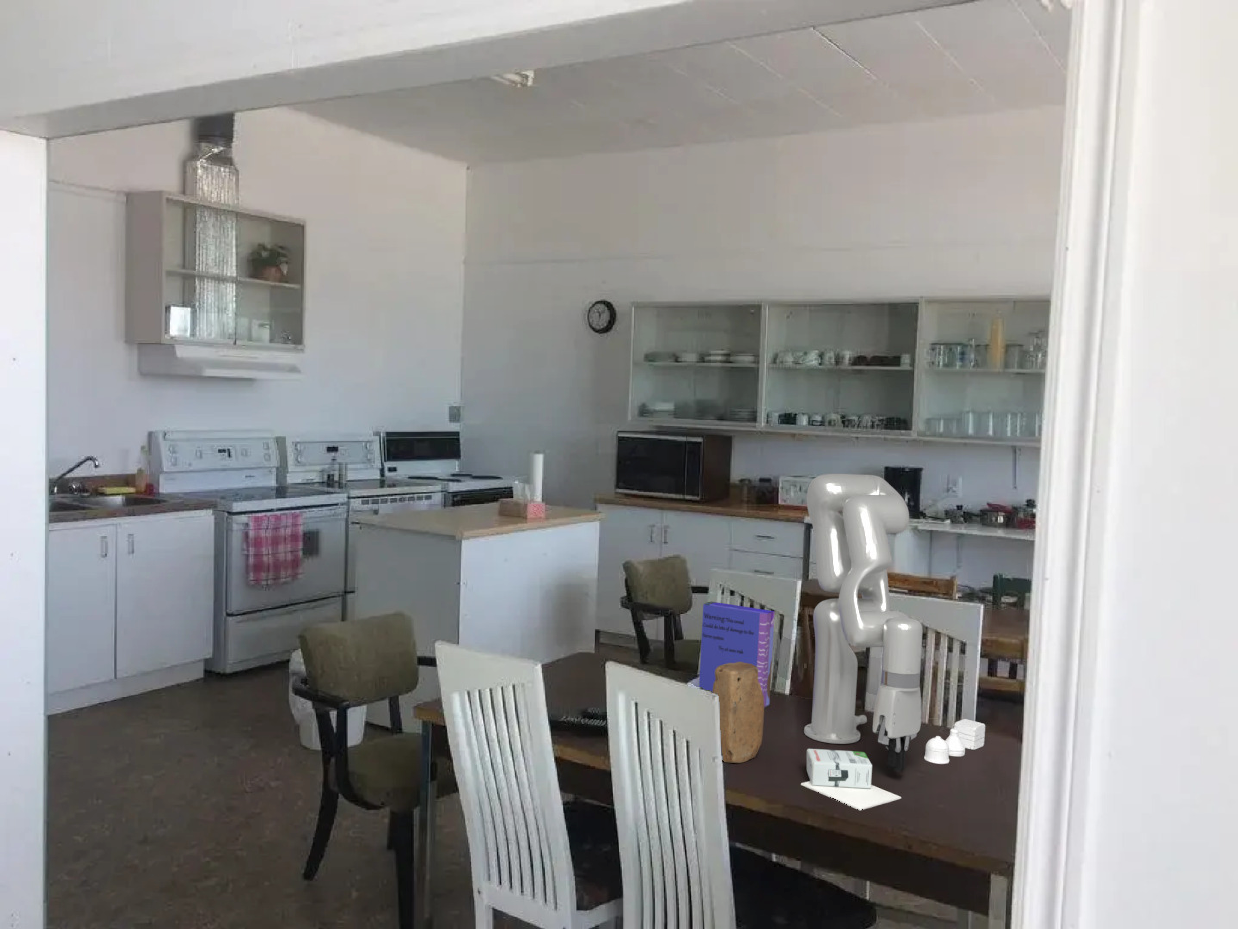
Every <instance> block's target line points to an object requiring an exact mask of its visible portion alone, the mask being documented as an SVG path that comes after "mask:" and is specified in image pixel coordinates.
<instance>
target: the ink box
mask: <svg viewBox="0 0 1238 929" xmlns="http://www.w3.org/2000/svg"><path fill="white" fill-rule="evenodd" d="M806 772H807V776H808V778H809V781H811V784H812V785H818V786H835V787H851V788H868V789H871V785H872V775H873V774H872V773H873V763H871V761H870V759H869V758H868V756H867V753H866V752H864V751H854V750H853V751H852V750H840V749H839V750H837V749H822V748H821V749H820V748H807V749H806Z"/></svg>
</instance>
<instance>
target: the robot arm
mask: <svg viewBox="0 0 1238 929" xmlns="http://www.w3.org/2000/svg"><path fill="white" fill-rule="evenodd" d="M806 506H807V512H808V515H809V519H810V522H811V525H812V528H813V533H814V545H815V560H816V575H817V582H818V584H819V587H820V588H821V590H823V591H825V592H828V593H838V598H829V599H825V600H822V601H820V602H819V603H818V604H817V605H816V606H815V608H814V610H813V616H812V617H813V618H812V619H813V628H814V637H815V639H814V640H815V655H814V656H815V658H814V680H813V691H812V710H811V711H812V712H811V723H809V724H807V725H805V726H804V730H803V733H804V734H805V736H807V737H808V738H810V739H812V740H814V741H818V742H821V743H827V744H835V745H836V744H837V745H846V744H854V743H857V742H858V741H859V740H860V739H861V732H860V731H859V730H858V729H857V727H858V726H859V725H864V724H865V723H867V722H868V719H867V715H865V714H861V715H855V713H856V698H857V696H856V695H857V680H858V664H859V663H858V659H857V655H856V654H855V652H854V650H853V649H852V648H851V646H853V647H855V648H882V656H881V658H882V659H881V662H882V663H881V674H880V675H881V676H880V678H881V681H880V685H879V686H878V689H877V691H876V695H875V696H876V697H875V700H874V701H875V702H874V709H873V716H872V717H873V718H872V732H873V733H874V734H876V735H878V737H877V738H878V739H877V743H879V744H882V745H885V749H887V765H886V766H887V769H889V770H892V771H895V772H898V773H899V772H904V771H906V757H907V756H906V755H907V754H906V753H907V751H908V750H909V744H910V742H911V741H912V740H913V739H916V737H917V735H918V734H917V733H918V732H919V731H920V730H921V727H922V726H921V724H922V697H921V695H922V694H921V688H920V685H921V684H920V681H921V665H922V664H921V660H922V644H923V625H922V623H921V622H920V621H919V620H918V619H915V618H910V617H909V616H908V615H907V614H906V613H904V612H903V611H902V612H901V611H898V610H891V607H890V606H891V605H890V592H889V578H888V571H887V570H888V569H889V568H890V567H891V565H892V562H893V561H892V560H893V559H892V553H891V549H890V548H891V547H890V544H889V537H888V534H899V533H903V532H904V531H905V530H906V529H907V528H908V525H909V523H910V511H909V509H908V508H909V507H908V506H907V503H906V501H905V499H904V498H903V496H902V495H901V494H900V493H899V492H898V491H897V490H896V489H895V488H894V487H893V486H891V484H889V482H888V481H886V480H885V478H883V477H880V476H878V475H875V474H854V473H853V474H852V473H827V474H821V475H818V476H816V477H814V478H813V479H812V480H811V481H810V483H809V485H808V487H807V494H806ZM841 511H842V515H841V514H840V513H839V512H841ZM858 594H861V597H862V598H858V596H859V595H858Z"/></svg>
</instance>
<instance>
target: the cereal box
mask: <svg viewBox="0 0 1238 929" xmlns="http://www.w3.org/2000/svg"><path fill="white" fill-rule="evenodd" d="M701 624H702V625H701V642H700V643H701V644H700V663H699V681H698V682H699V683H698V688H699V687H702V688H703V689H705V690H710V691H713V684H714V681H715V670H716V668H717V667H718V666H720V665H723V664H727V663H736V662H744V663H749V664H753V665H754V666H756V667H757V668H758V682H759V683H760V686H761V690H762V694H763V697H764V709H766V708H767V707H769V706H770V703H771V702H770V699H771V680H772V665H773V664H772V663H773V649H774V648H773V647H774V628H775V611H774V610H770V609H769V610H768V609H762V608H757V607H749V606H743V605H736V604H730V603H723V602H716V601H707V602H705V603H703V607H702V623H701Z"/></svg>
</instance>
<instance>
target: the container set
mask: <svg viewBox="0 0 1238 929" xmlns="http://www.w3.org/2000/svg"><path fill="white" fill-rule="evenodd" d="M954 722H955V721H954ZM949 730H950V731H949V736H948V737H947V738H946V739H945V740H944V739H943V738H942V736H939V735H936V736H935V737H932V738H930V739H929V740H928V741H927V743H926V744H925V754H924V757H923V758H924V760H925V761H927V762H928V763H929V762H930V763H933V764H936V765H937V764H939V765H944V764H949V762H950V758H949V756H951V757H963V756H965V753H966V749H968V750H973V751H974V750H978V749H979V748H982V747H984V745H985V737H986V736H985V734H986V724H985V723H982V722H980V721H979V722H978V721H975V720H971V719H967V718H963V719H960V720H958V721H956V722H955V723H954V724H953V728H951V729H949Z"/></svg>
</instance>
